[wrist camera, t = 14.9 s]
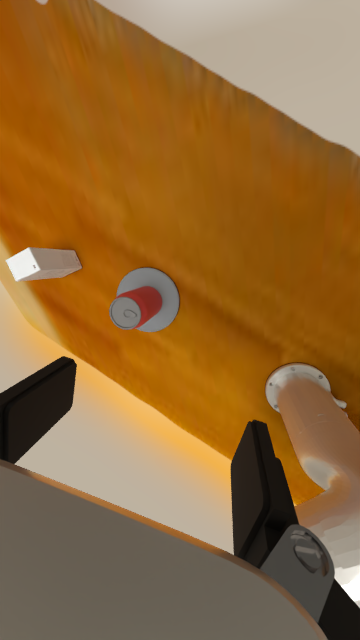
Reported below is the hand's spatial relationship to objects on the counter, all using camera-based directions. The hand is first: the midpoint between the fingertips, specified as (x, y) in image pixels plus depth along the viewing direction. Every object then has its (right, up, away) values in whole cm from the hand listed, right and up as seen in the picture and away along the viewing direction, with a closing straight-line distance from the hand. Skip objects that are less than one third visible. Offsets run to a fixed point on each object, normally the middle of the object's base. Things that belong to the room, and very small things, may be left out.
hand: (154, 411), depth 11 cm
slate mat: (-6, +9, +37) cm, 38 cm away
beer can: (-6, +9, +36) cm, 38 cm away
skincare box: (-24, +17, +38) cm, 49 cm away
